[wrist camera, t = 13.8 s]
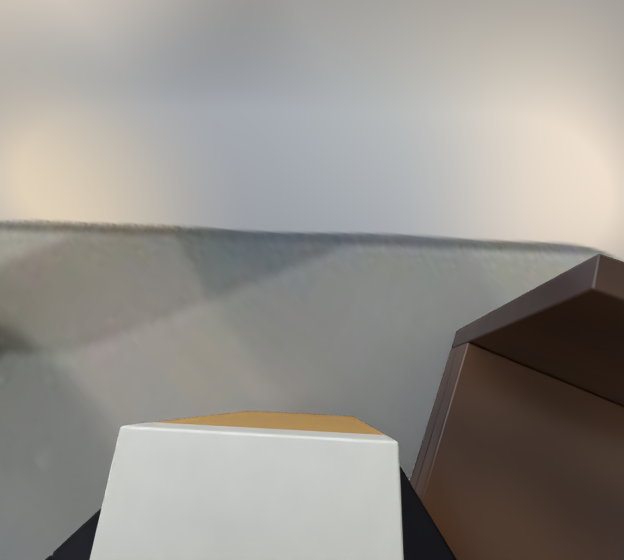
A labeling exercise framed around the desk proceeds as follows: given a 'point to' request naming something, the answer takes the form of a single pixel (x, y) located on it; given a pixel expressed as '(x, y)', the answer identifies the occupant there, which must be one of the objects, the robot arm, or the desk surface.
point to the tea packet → (252, 490)
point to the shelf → (533, 426)
